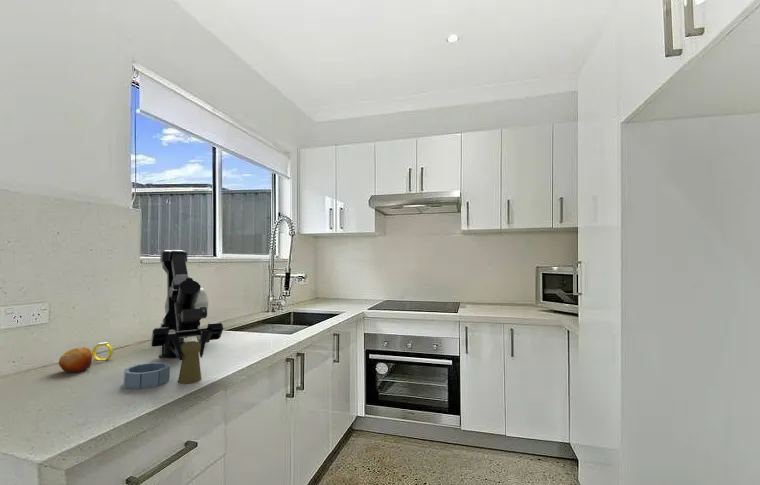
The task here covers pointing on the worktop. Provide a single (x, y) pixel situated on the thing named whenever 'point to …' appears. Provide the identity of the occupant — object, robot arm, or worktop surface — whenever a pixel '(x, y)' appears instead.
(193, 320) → the robot arm
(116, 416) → the worktop surface
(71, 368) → the fruit
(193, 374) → the cork
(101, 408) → the worktop surface
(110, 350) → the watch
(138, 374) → the bowl
